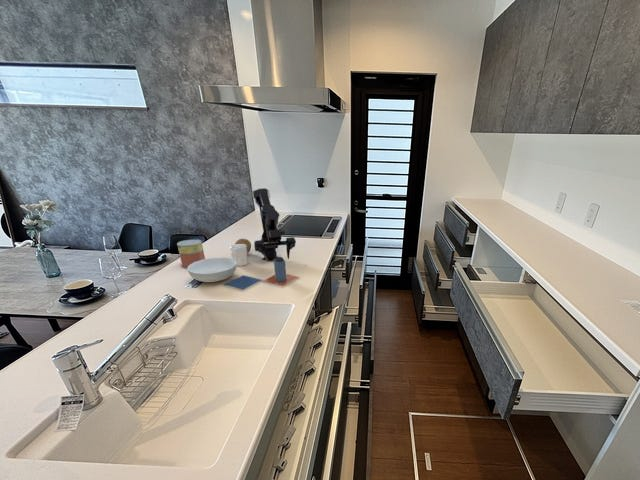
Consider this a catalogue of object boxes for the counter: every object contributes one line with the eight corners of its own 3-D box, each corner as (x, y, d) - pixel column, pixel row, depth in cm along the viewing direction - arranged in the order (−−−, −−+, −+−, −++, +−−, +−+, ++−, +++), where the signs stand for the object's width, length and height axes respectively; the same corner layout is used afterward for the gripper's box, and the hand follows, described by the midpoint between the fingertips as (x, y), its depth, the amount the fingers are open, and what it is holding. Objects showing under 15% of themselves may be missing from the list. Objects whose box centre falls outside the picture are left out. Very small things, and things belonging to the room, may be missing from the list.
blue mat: (223, 285, 138) (223, 284, 138) (243, 276, 149) (243, 275, 148) (243, 290, 134) (242, 289, 134) (262, 280, 144) (262, 279, 144)
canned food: (184, 261, 165) (179, 240, 160) (207, 259, 168) (203, 238, 163) (179, 268, 155) (174, 246, 150) (204, 266, 158) (199, 244, 154)
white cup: (251, 262, 166) (249, 244, 162) (241, 267, 159) (239, 249, 155) (240, 260, 168) (237, 243, 164) (229, 265, 162) (226, 247, 158)
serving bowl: (182, 288, 134) (179, 274, 132) (199, 270, 153) (196, 257, 151) (232, 286, 138) (229, 272, 135) (242, 269, 157) (240, 256, 154)
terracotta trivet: (262, 282, 143) (262, 281, 143) (279, 273, 153) (279, 272, 153) (282, 287, 138) (282, 286, 138) (298, 277, 148) (298, 277, 148)
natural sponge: (242, 259, 171) (239, 241, 167) (232, 255, 175) (229, 239, 171) (255, 254, 178) (253, 238, 174) (245, 251, 182) (243, 235, 178)
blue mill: (273, 281, 143) (271, 259, 139) (280, 277, 147) (278, 256, 143) (282, 283, 141) (279, 260, 137) (288, 279, 145) (286, 257, 141)
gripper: (251, 223, 136) (257, 254, 131) (293, 220, 144) (300, 249, 139) (252, 236, 146) (257, 265, 141) (291, 232, 153) (297, 260, 148)
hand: (278, 259), depth 142 cm, fingers open, 9 cm apart
